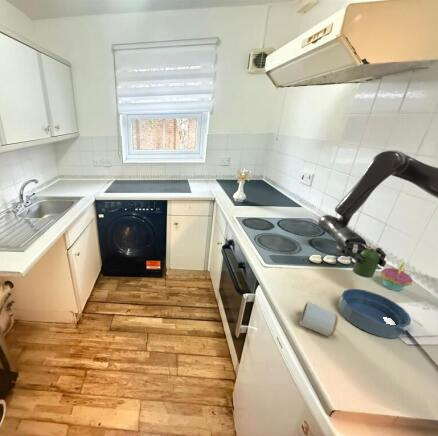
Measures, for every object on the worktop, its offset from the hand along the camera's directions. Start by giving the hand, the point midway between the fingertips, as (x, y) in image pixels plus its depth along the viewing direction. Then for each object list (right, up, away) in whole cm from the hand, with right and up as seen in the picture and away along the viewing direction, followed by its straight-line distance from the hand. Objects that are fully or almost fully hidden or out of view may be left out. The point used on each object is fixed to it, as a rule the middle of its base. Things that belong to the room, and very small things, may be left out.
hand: (372, 262), depth 81 cm
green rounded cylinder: (+1, -5, +5) cm, 6 cm away
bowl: (-5, -17, -4) cm, 18 cm away
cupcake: (+17, -11, +10) cm, 23 cm away
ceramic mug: (-25, -18, -6) cm, 31 cm away
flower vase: (-5, +29, +104) cm, 108 cm away
